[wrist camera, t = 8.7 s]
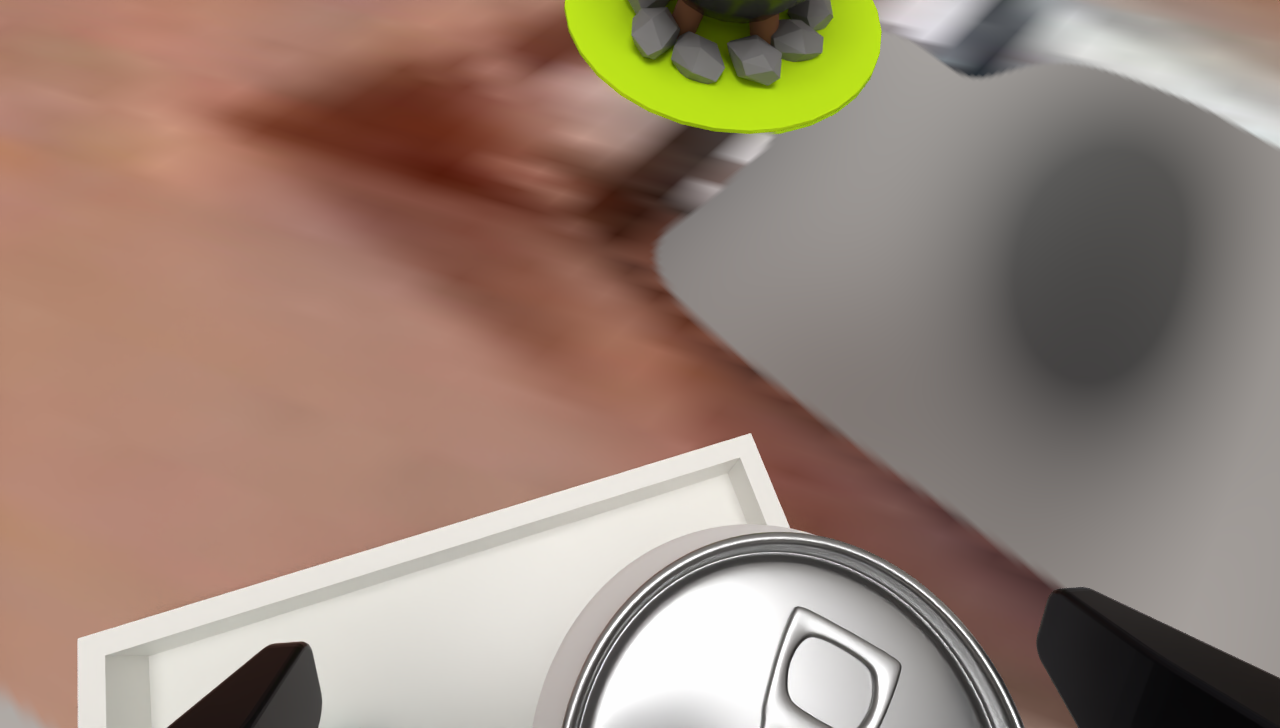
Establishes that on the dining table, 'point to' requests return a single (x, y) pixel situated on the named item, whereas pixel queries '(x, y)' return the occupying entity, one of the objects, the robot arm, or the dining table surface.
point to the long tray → (429, 606)
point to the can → (769, 643)
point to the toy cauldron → (731, 57)
